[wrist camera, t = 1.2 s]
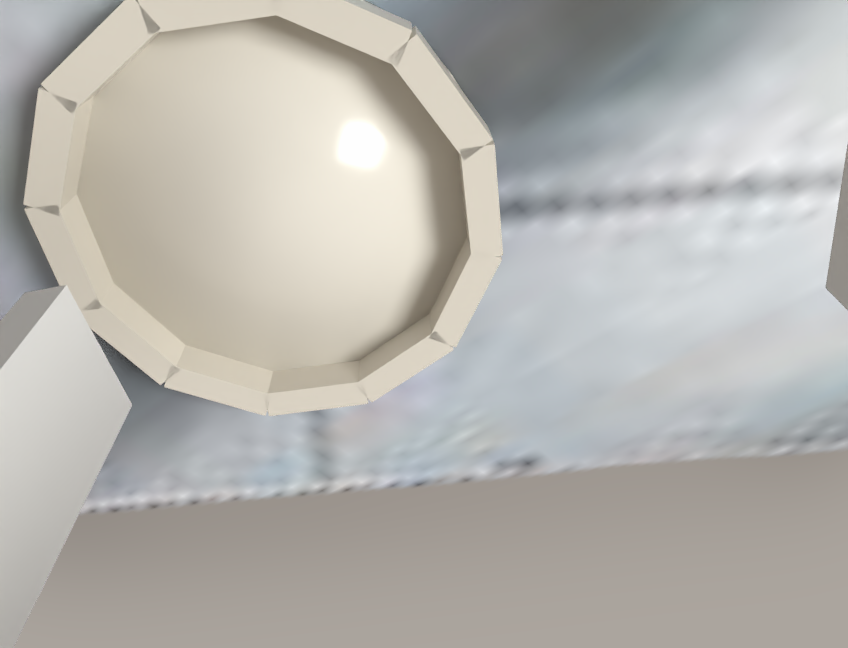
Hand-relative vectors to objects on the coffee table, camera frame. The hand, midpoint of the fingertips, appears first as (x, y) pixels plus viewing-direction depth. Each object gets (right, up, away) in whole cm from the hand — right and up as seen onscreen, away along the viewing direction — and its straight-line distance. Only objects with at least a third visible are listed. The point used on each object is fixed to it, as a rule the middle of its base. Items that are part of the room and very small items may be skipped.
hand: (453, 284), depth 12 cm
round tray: (-8, +5, +22) cm, 24 cm away
